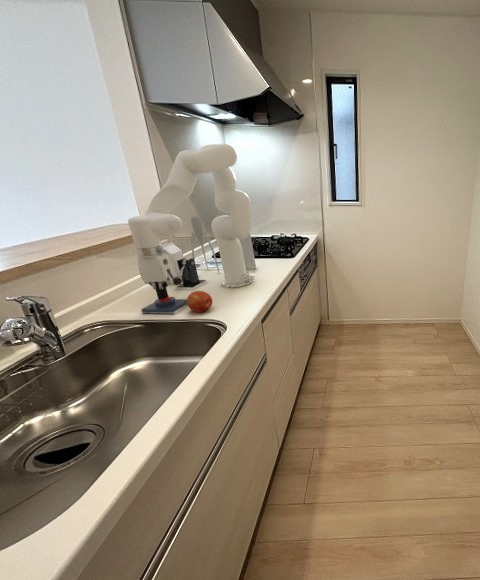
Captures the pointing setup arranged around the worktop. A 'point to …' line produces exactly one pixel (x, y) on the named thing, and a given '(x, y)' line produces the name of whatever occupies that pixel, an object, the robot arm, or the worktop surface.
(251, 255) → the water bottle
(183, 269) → the lever
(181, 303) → the button box
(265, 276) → the worktop surface
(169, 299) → the button
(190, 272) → the bracket
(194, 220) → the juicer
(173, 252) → the milk carton
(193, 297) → the apple
